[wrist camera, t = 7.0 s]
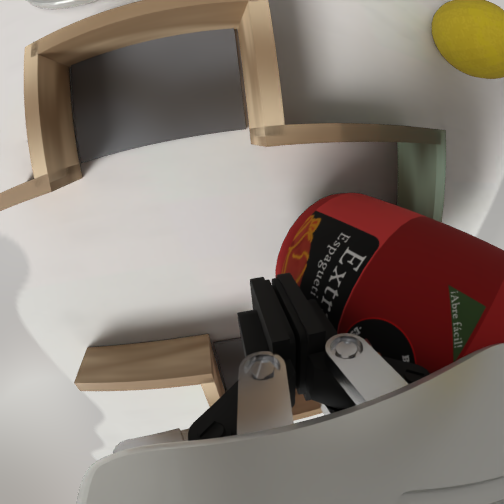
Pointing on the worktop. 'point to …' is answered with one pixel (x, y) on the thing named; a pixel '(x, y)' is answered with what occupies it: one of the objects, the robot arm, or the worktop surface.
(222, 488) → the robot arm
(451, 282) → the canned food
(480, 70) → the lemon
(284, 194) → the worktop surface
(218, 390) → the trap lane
